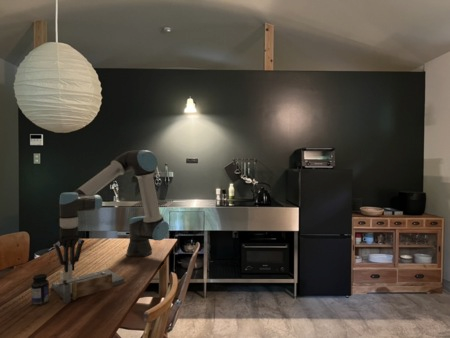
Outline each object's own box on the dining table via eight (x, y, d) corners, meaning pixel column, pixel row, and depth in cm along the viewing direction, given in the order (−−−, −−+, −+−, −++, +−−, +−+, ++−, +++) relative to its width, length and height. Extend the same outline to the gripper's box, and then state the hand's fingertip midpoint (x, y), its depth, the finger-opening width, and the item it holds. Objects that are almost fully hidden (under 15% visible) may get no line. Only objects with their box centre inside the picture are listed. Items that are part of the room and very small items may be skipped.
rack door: (111, 287, 140) (110, 272, 140) (112, 288, 139) (112, 273, 139) (71, 298, 129) (71, 282, 128) (72, 300, 127) (72, 283, 127)
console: (107, 273, 159) (107, 267, 159) (124, 282, 146) (124, 276, 146) (51, 287, 141) (51, 281, 141) (65, 299, 128) (64, 293, 128)
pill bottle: (45, 298, 129) (45, 272, 129) (51, 302, 126) (51, 275, 125) (28, 303, 125) (28, 276, 125) (34, 307, 121) (34, 279, 121)
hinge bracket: (68, 299, 128) (67, 282, 128) (70, 301, 126) (70, 284, 126) (62, 301, 127) (62, 284, 127) (65, 303, 125) (65, 286, 125)
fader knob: (65, 281, 142) (65, 270, 142) (69, 283, 139) (69, 272, 139) (60, 282, 141) (60, 271, 140) (63, 285, 137) (63, 273, 137)
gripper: (81, 223, 148) (81, 272, 148) (50, 227, 139) (50, 280, 139) (87, 225, 143) (87, 277, 143) (55, 230, 134) (56, 284, 134)
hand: (69, 278), depth 141 cm, fingers closed
